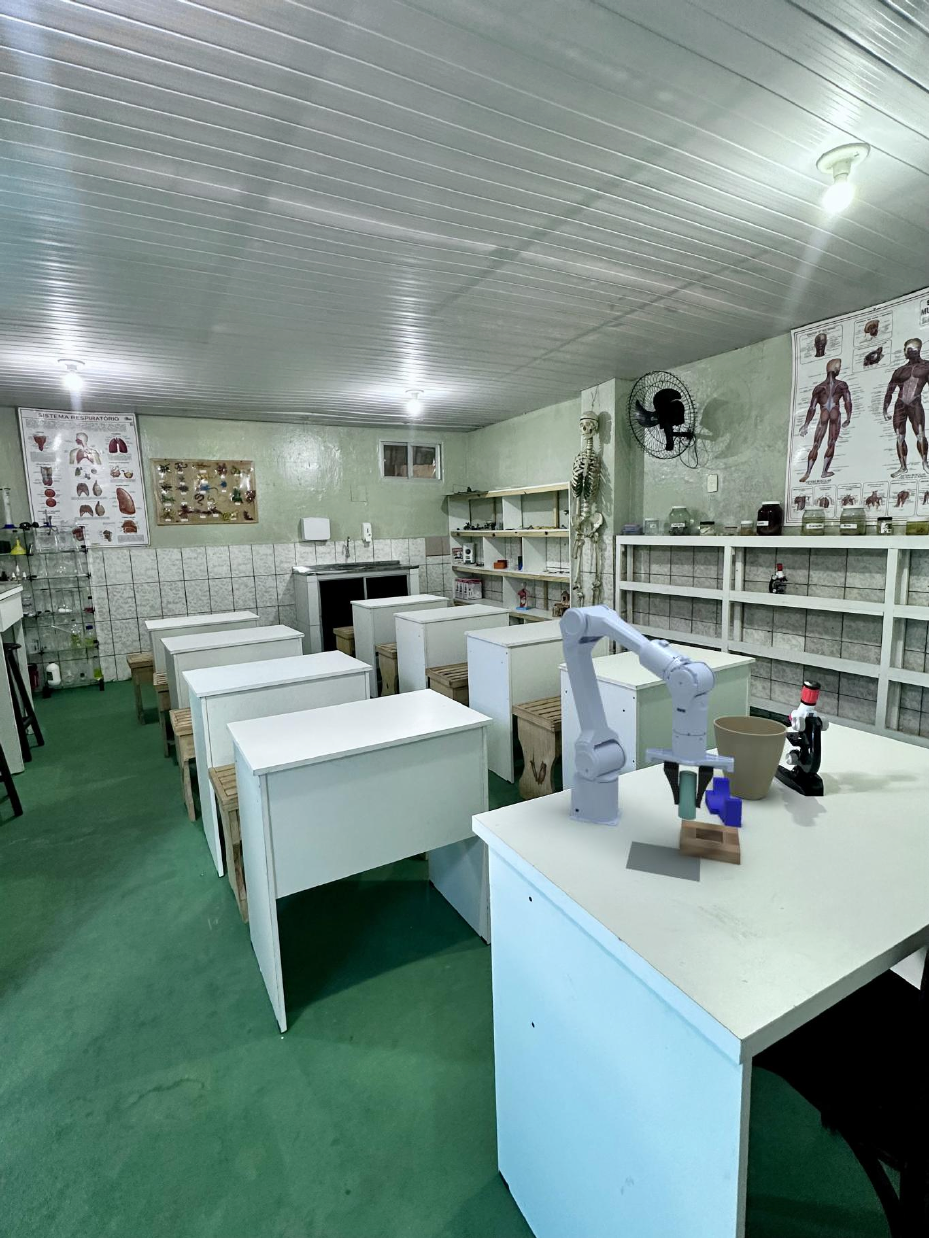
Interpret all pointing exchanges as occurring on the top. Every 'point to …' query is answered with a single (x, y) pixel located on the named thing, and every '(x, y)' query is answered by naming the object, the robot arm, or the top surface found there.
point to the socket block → (710, 841)
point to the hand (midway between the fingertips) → (687, 804)
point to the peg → (687, 795)
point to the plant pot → (750, 752)
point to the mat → (663, 861)
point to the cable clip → (724, 803)
